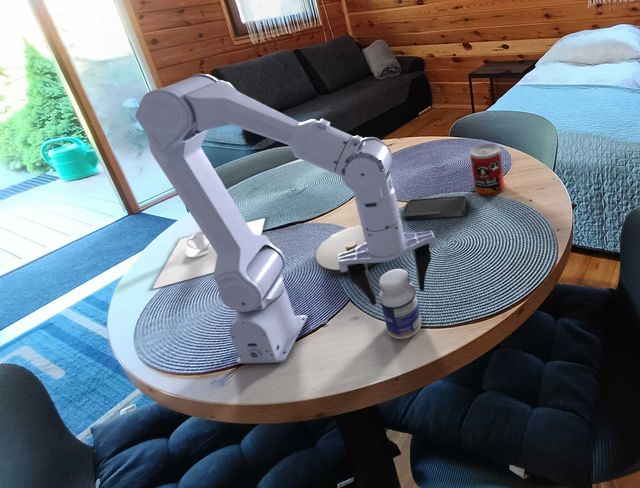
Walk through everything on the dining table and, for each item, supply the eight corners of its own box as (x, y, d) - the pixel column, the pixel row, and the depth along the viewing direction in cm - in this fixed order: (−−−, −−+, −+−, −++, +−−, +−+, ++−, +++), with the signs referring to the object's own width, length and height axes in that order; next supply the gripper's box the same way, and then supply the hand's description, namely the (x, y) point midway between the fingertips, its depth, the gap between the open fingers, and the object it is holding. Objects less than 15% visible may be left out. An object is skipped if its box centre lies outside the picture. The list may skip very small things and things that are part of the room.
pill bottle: (383, 322, 73) (371, 274, 69) (415, 309, 75) (405, 261, 71) (393, 346, 68) (380, 295, 64) (427, 331, 70) (417, 281, 66)
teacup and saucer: (229, 234, 107) (224, 220, 105) (223, 251, 99) (217, 237, 98) (190, 244, 104) (184, 230, 103) (181, 263, 97) (174, 247, 96)
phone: (408, 199, 109) (466, 195, 108) (408, 203, 110) (467, 199, 108) (401, 216, 102) (464, 211, 100) (402, 220, 102) (464, 216, 101)
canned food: (471, 195, 110) (465, 156, 106) (479, 181, 117) (474, 143, 113) (500, 196, 108) (496, 156, 104) (507, 181, 115) (503, 143, 111)
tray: (382, 271, 84) (376, 248, 82) (303, 276, 85) (296, 253, 83) (400, 225, 98) (395, 205, 96) (332, 230, 100) (327, 210, 98)
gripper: (423, 197, 69) (436, 266, 74) (331, 219, 66) (351, 290, 71) (432, 218, 62) (446, 292, 67) (330, 244, 59) (352, 320, 64)
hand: (397, 293), depth 69 cm, fingers open, 7 cm apart
